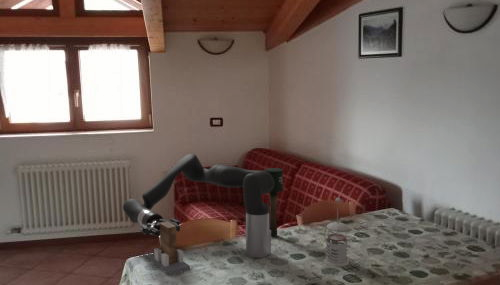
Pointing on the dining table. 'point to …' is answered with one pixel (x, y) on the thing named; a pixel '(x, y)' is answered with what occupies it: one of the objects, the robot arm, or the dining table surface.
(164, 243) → the brown wooden block
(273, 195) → the potato masher grenade
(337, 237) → the french press
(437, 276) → the dining table surface
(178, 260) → the hinge base
